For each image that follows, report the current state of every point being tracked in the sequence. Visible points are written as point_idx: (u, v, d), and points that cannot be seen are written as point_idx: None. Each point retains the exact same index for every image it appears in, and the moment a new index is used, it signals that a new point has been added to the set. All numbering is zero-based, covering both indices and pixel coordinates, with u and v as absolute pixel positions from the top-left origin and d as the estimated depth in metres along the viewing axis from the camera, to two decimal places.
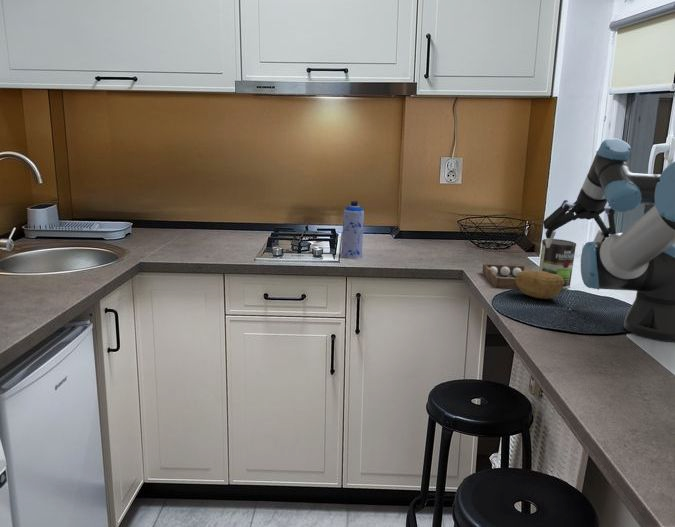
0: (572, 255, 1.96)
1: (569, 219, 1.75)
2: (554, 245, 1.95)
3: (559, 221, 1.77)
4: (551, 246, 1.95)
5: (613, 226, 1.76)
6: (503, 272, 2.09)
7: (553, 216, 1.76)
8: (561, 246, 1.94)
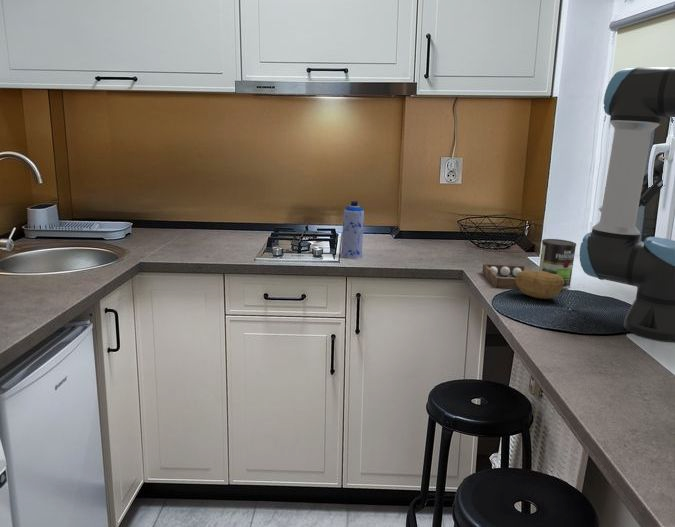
0: (572, 255, 1.96)
1: None
2: (554, 245, 1.95)
3: None
4: (551, 246, 1.95)
5: (646, 192, 1.87)
6: (503, 272, 2.09)
7: None
8: (561, 246, 1.94)
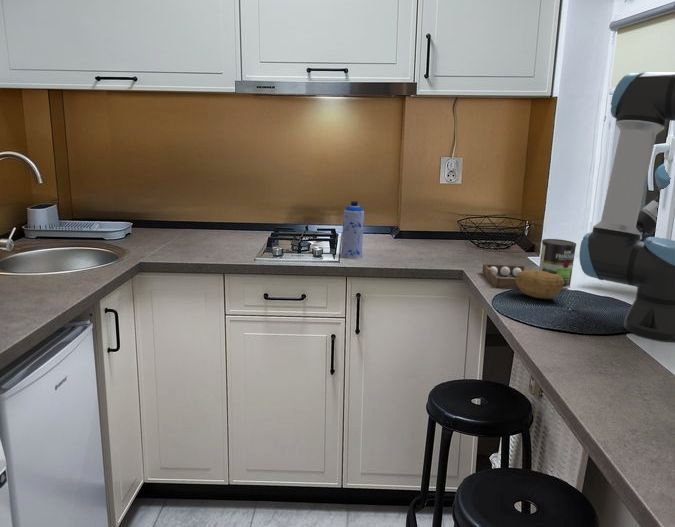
0: (572, 255, 1.96)
1: None
2: (554, 245, 1.95)
3: None
4: (551, 246, 1.95)
5: None
6: (503, 272, 2.09)
7: None
8: (561, 246, 1.94)
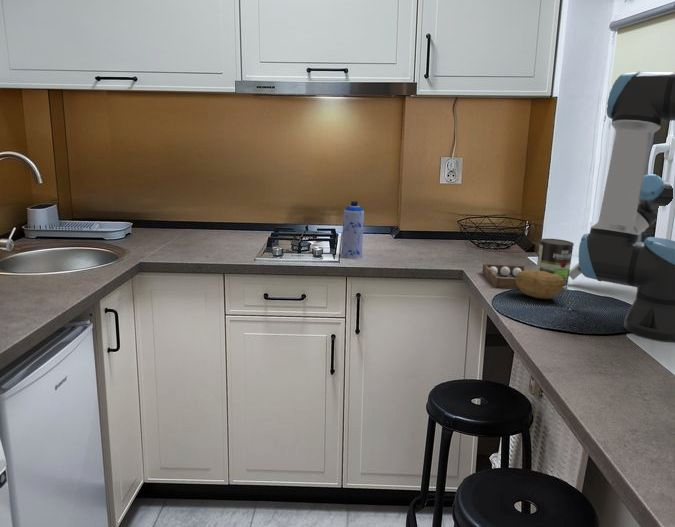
0: (569, 255, 1.96)
1: None
2: (551, 245, 1.94)
3: None
4: (548, 246, 1.95)
5: None
6: (503, 272, 2.09)
7: None
8: (558, 246, 1.94)
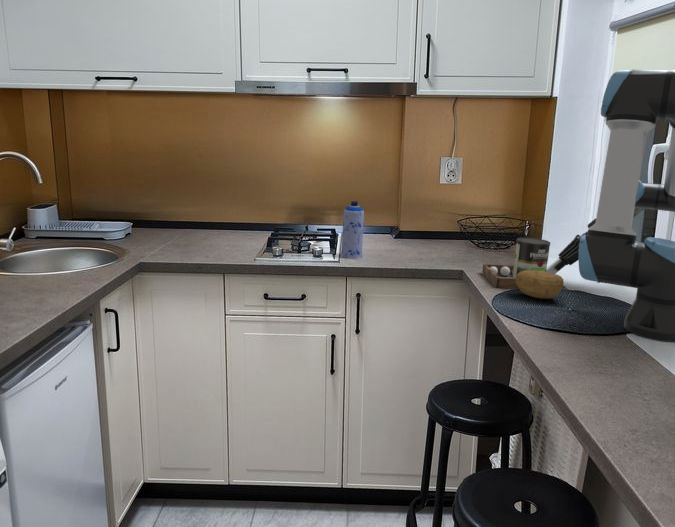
0: (546, 254, 1.95)
1: (574, 245, 2.01)
2: (528, 244, 1.94)
3: None
4: (525, 245, 1.95)
5: (574, 253, 1.96)
6: (503, 272, 2.09)
7: None
8: (535, 245, 1.93)
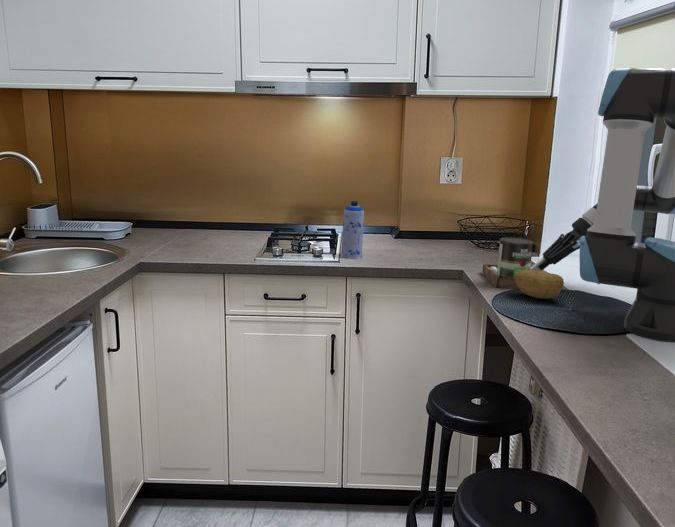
0: (529, 253, 1.94)
1: (558, 244, 2.00)
2: (511, 244, 1.93)
3: None
4: (508, 245, 1.94)
5: (557, 252, 1.95)
6: None
7: None
8: (517, 245, 1.92)
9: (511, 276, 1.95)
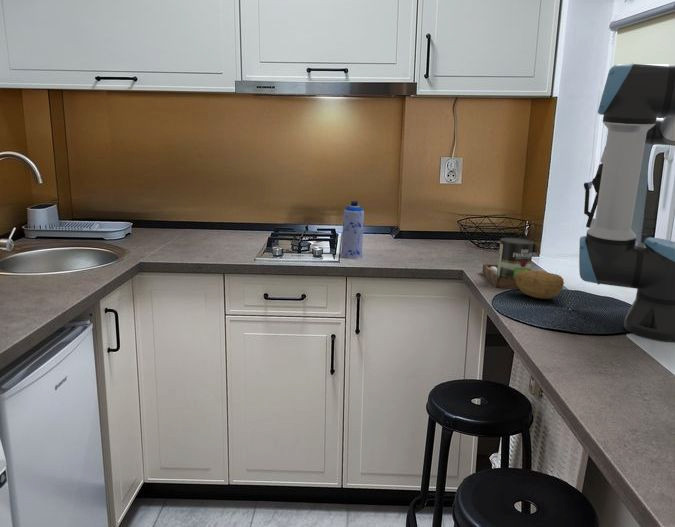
0: (529, 254, 1.94)
1: (596, 198, 1.95)
2: (511, 244, 1.93)
3: (592, 206, 1.97)
4: (508, 245, 1.94)
5: None
6: None
7: None
8: (518, 245, 1.92)
9: (511, 276, 1.95)
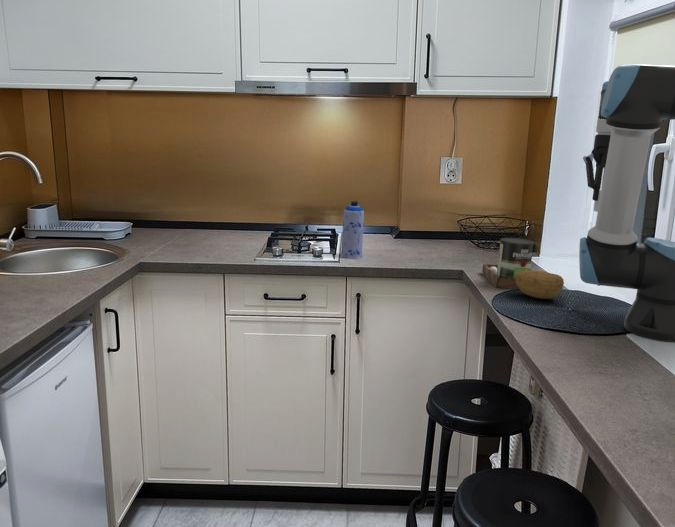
0: (529, 254, 1.94)
1: (600, 170, 1.92)
2: (511, 244, 1.93)
3: (596, 178, 1.93)
4: (508, 245, 1.94)
5: None
6: None
7: (588, 174, 1.93)
8: (518, 245, 1.92)
9: (511, 276, 1.95)
